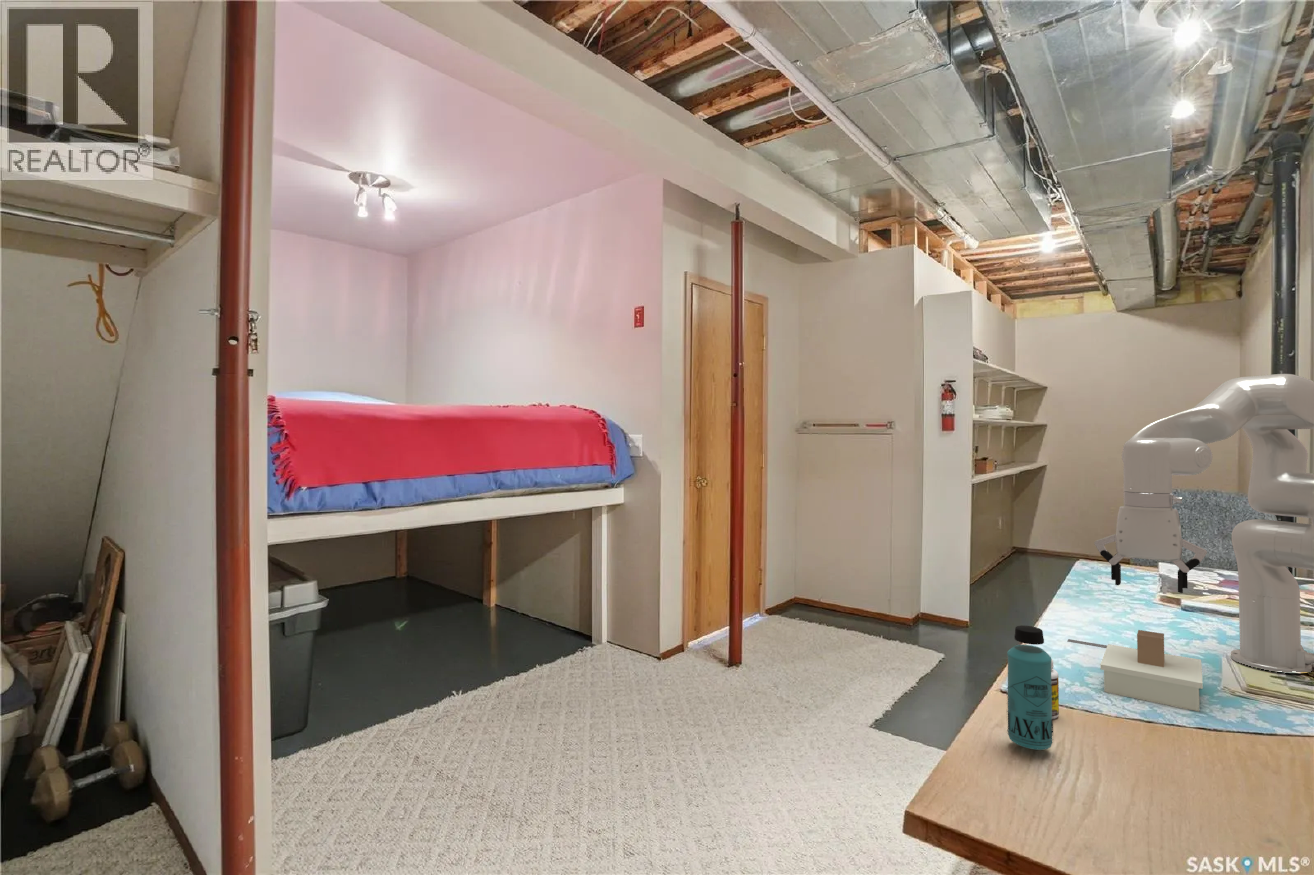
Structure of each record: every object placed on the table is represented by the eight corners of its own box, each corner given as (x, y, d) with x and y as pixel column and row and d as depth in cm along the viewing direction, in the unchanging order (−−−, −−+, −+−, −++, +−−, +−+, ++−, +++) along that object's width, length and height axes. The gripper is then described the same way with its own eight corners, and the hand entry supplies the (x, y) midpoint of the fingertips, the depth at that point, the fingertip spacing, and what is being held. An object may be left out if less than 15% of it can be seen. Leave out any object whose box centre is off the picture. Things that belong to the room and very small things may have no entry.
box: (1198, 690, 122) (1198, 664, 122) (1199, 714, 111) (1198, 687, 111) (1111, 673, 131) (1110, 649, 131) (1104, 694, 120) (1103, 669, 120)
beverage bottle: (998, 741, 103) (996, 622, 103) (1035, 738, 103) (1033, 620, 103) (1025, 761, 96) (1022, 634, 96) (1064, 758, 97) (1062, 632, 97)
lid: (1201, 664, 122) (1200, 632, 122) (1202, 689, 110) (1201, 652, 110) (1108, 648, 131) (1107, 618, 131) (1100, 669, 120) (1099, 636, 120)
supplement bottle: (1050, 723, 109) (1049, 666, 109) (1017, 712, 113) (1016, 657, 113) (1065, 715, 112) (1063, 659, 112) (1032, 704, 116) (1031, 651, 117)
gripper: (1205, 502, 118) (1206, 591, 118) (1096, 497, 129) (1097, 578, 129) (1206, 505, 112) (1207, 598, 112) (1091, 500, 124) (1092, 584, 124)
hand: (1148, 587), depth 121 cm, fingers open, 9 cm apart
